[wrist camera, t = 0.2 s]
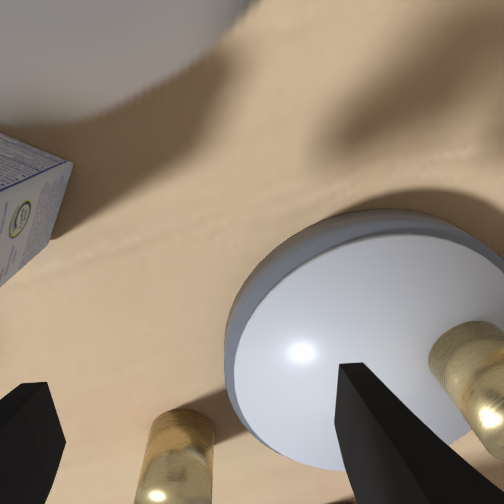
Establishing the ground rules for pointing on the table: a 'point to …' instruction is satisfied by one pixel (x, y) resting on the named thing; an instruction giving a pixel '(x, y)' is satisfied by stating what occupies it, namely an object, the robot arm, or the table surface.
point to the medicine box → (27, 201)
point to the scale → (354, 324)
